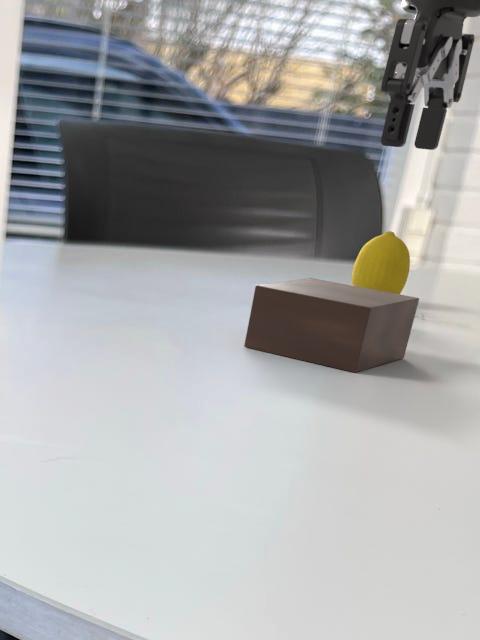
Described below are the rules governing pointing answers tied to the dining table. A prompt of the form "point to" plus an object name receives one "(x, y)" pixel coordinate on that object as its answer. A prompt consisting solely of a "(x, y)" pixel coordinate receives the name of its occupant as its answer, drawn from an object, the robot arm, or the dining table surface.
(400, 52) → the robot arm
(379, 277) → the lemon
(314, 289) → the block
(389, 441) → the dining table surface
